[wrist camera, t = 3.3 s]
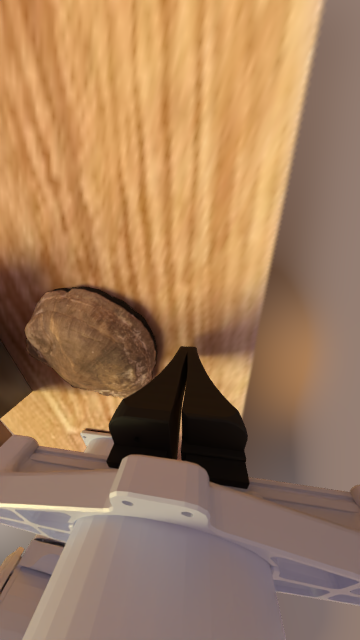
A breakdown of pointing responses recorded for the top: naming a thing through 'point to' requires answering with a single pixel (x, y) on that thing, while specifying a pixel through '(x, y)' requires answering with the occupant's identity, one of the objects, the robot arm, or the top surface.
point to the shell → (92, 341)
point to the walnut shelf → (10, 389)
